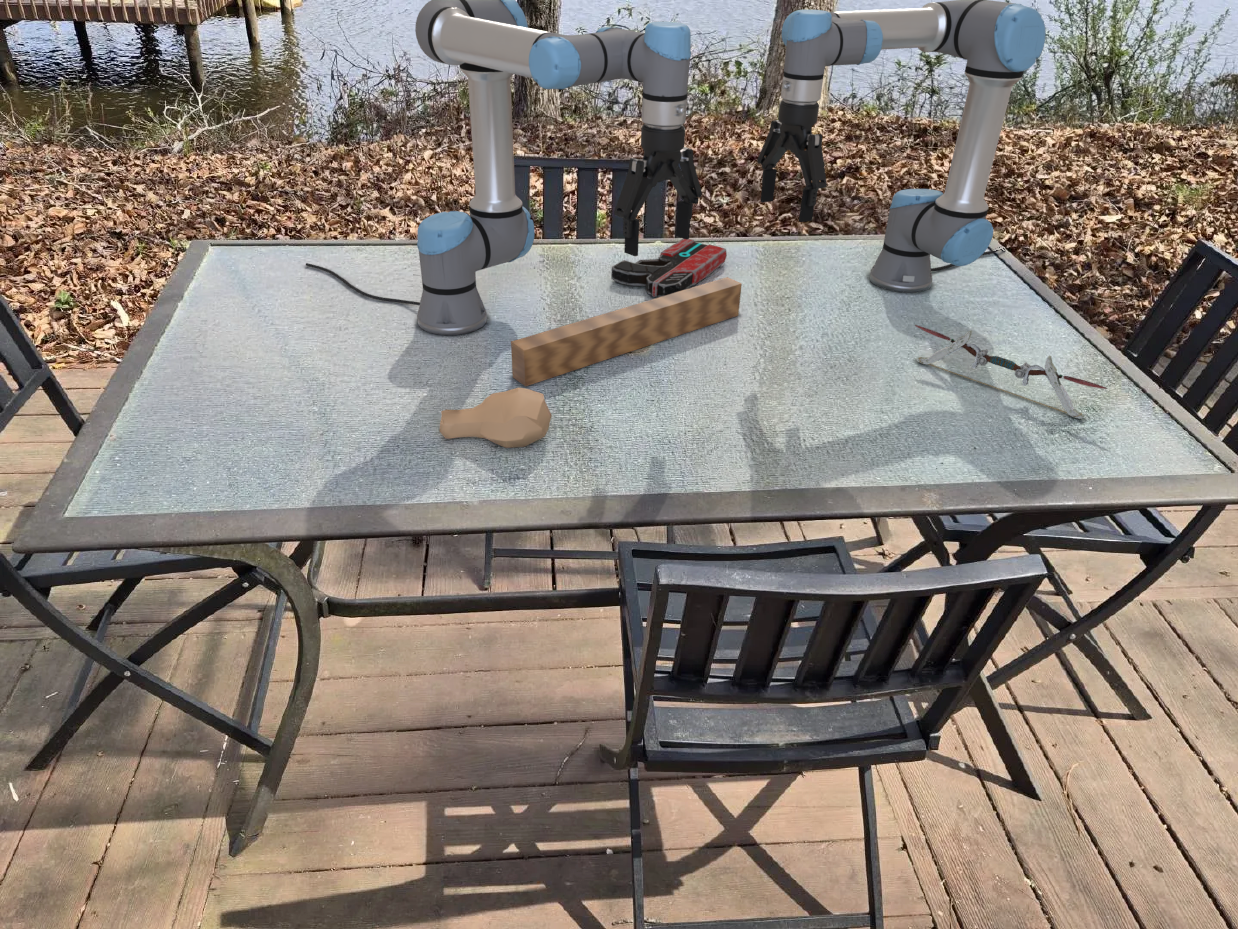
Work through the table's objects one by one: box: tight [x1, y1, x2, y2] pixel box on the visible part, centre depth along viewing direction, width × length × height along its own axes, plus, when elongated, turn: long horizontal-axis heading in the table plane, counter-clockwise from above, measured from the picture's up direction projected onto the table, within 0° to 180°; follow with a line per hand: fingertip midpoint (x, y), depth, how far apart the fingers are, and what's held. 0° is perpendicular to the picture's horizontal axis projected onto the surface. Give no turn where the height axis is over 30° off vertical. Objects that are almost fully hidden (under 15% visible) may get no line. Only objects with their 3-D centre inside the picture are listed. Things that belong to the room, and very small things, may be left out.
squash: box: [438, 387, 553, 449], centre depth 154 cm, size 11×20×9 cm, turn 90°
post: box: [510, 276, 743, 387], centre depth 188 cm, size 59×5×8 cm, turn 128°
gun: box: [610, 238, 728, 298], centre depth 222 cm, size 4×31×19 cm
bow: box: [914, 324, 1108, 420], centre depth 174 cm, size 39×2×10 cm, turn 47°
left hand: (657, 245), depth 161 cm, fingers open, 13 cm apart
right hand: (785, 210), depth 180 cm, fingers open, 13 cm apart
